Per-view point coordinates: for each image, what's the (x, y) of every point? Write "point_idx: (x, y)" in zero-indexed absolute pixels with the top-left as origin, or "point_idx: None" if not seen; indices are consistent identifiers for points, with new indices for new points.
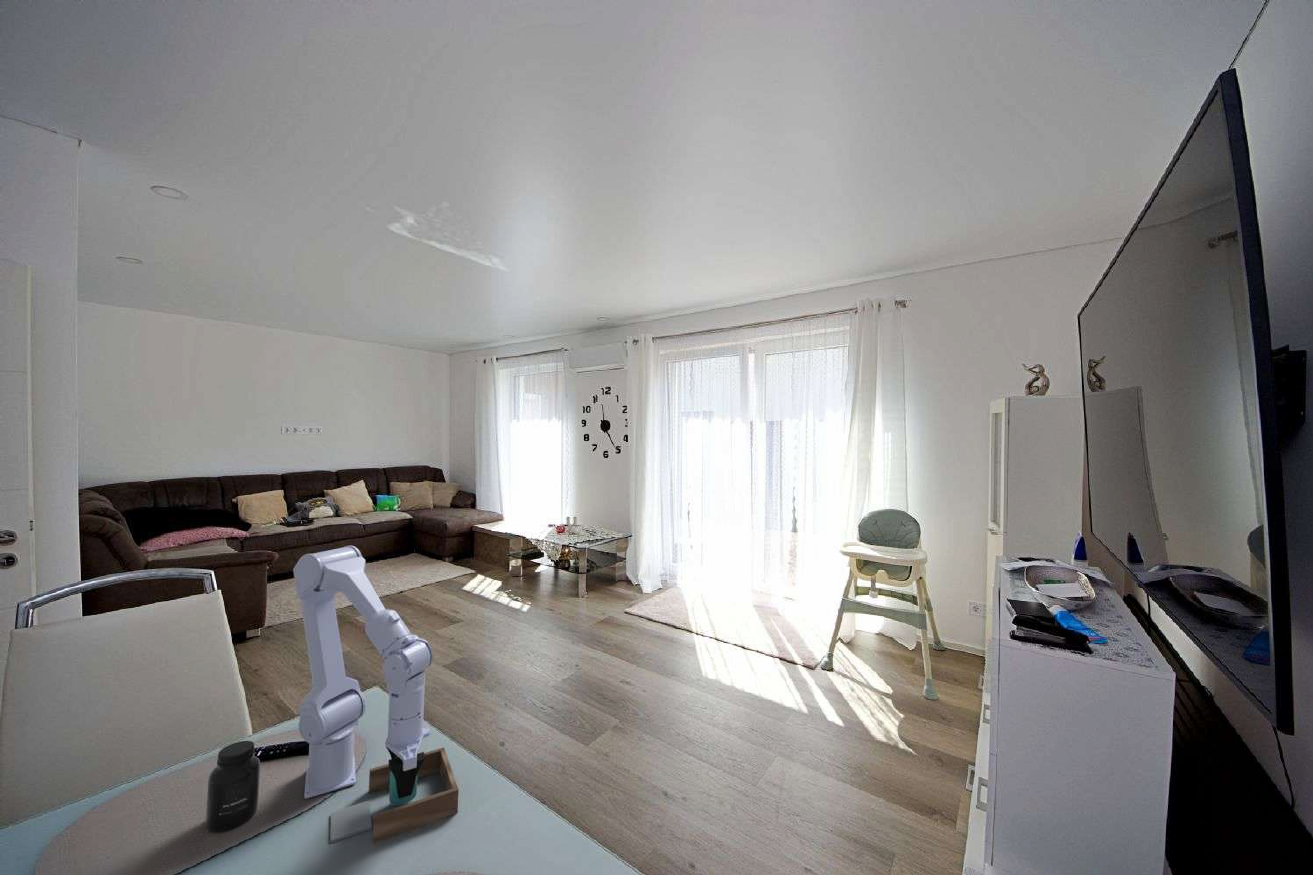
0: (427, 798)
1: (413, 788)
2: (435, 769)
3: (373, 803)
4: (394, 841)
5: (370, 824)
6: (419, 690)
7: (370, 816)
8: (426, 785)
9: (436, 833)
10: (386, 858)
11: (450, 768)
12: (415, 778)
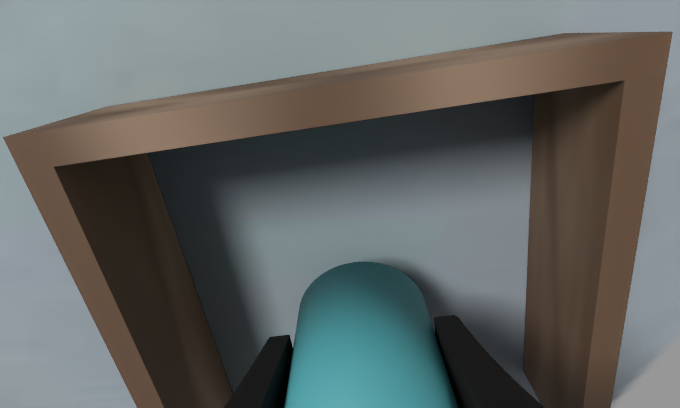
0: (614, 253)
1: (416, 311)
2: (140, 157)
3: None
4: None
5: None
6: None
7: None
8: (254, 196)
9: (653, 149)
10: (656, 326)
11: (338, 90)
12: (518, 384)
